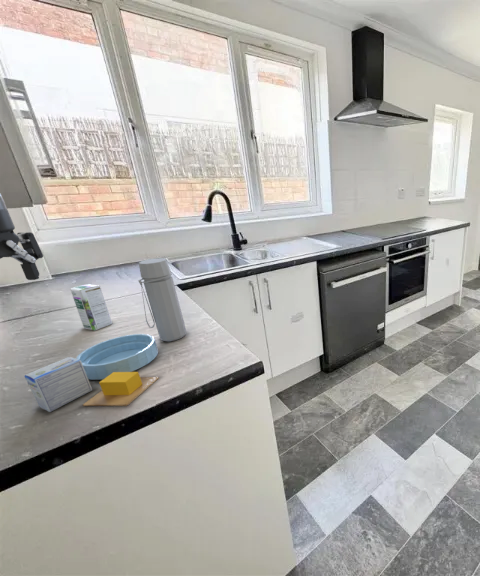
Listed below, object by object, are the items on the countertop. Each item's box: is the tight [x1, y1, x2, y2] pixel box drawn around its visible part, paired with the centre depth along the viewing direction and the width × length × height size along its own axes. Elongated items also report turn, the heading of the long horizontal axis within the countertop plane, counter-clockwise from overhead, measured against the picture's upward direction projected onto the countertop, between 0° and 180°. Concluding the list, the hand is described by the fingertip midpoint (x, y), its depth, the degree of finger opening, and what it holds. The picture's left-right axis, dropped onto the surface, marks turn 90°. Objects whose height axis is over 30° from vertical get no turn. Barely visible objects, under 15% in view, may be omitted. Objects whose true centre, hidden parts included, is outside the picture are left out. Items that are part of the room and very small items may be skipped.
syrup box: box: [69, 283, 113, 332], centre depth 104 cm, size 6×6×14 cm
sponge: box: [98, 371, 142, 395], centre depth 72 cm, size 6×4×4 cm, turn 90°
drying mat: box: [82, 376, 160, 407], centre depth 73 cm, size 10×10×1 cm
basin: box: [75, 333, 159, 381], centre depth 84 cm, size 16×16×5 cm
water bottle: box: [137, 257, 187, 342], centre depth 93 cm, size 9×8×25 cm
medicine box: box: [24, 356, 93, 413], centre depth 69 cm, size 8×4×9 cm, turn 159°
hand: (11, 285), depth 66 cm, fingers open, 8 cm apart
